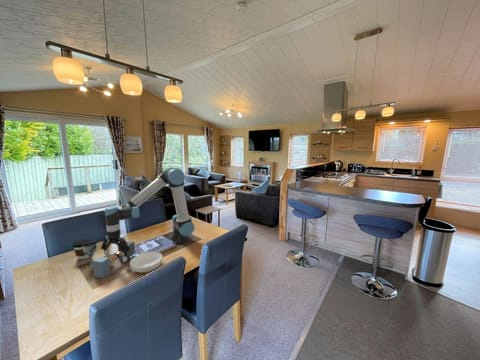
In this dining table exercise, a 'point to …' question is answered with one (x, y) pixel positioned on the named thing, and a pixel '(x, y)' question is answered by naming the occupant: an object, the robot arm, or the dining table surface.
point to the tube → (115, 256)
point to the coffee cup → (80, 248)
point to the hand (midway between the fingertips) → (116, 259)
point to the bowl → (146, 262)
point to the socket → (101, 267)
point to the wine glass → (90, 250)
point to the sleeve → (130, 252)
